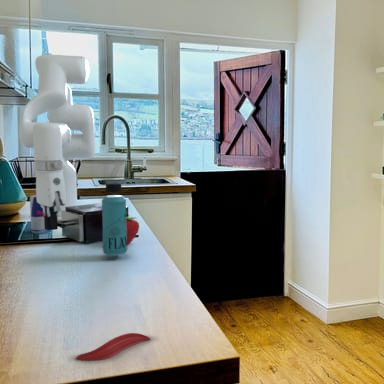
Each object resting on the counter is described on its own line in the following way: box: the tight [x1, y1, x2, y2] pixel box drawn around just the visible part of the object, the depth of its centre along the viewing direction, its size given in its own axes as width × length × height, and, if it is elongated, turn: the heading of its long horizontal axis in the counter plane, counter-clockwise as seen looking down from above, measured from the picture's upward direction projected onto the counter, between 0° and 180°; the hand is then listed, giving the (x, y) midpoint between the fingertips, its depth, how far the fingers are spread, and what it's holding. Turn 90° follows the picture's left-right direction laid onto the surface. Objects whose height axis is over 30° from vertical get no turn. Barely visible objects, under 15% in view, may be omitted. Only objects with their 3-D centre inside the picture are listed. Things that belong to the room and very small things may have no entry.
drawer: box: [58, 210, 85, 243], centre depth 147 cm, size 18×11×8 cm, turn 136°
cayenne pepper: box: [75, 332, 151, 361], centre depth 75 cm, size 12×5×2 cm, turn 120°
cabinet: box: [65, 202, 129, 245], centre depth 151 cm, size 15×13×10 cm
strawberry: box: [126, 211, 140, 246], centre depth 141 cm, size 6×8×10 cm
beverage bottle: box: [101, 182, 128, 256], centre depth 126 cm, size 6×7×20 cm
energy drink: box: [29, 194, 50, 235], centre depth 156 cm, size 5×5×12 cm
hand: (51, 229), depth 140 cm, fingers closed
